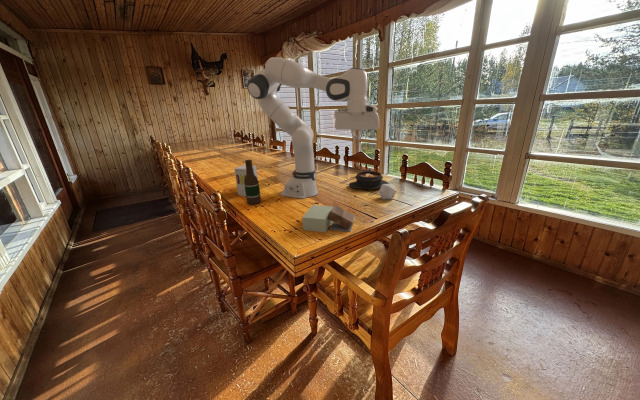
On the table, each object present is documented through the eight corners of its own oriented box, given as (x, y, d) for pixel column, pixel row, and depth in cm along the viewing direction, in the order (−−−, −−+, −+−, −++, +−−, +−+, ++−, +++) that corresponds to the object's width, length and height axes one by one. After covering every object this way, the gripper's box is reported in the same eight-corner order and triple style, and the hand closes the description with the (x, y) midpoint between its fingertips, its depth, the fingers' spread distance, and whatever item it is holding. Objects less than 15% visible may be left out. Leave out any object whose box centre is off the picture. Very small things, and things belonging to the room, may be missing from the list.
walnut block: (331, 211, 107) (353, 222, 106) (334, 204, 114) (355, 215, 113) (327, 218, 109) (348, 229, 108) (331, 212, 115) (351, 222, 114)
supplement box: (237, 195, 155) (233, 168, 149) (247, 190, 163) (243, 164, 157) (250, 197, 152) (246, 169, 146) (259, 192, 160) (256, 165, 154)
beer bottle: (248, 200, 146) (242, 159, 138) (262, 199, 147) (256, 158, 138) (245, 205, 139) (239, 162, 131) (260, 204, 140) (254, 161, 131)
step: (303, 229, 110) (302, 217, 108) (313, 216, 123) (312, 205, 121) (325, 232, 108) (325, 219, 105) (333, 218, 120) (333, 206, 118)
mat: (329, 229, 110) (329, 229, 109) (334, 220, 118) (334, 220, 117) (350, 232, 107) (350, 231, 107) (353, 222, 115) (353, 221, 115)
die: (392, 203, 136) (401, 187, 136) (377, 195, 136) (386, 179, 136) (387, 203, 144) (396, 188, 144) (374, 195, 144) (382, 180, 144)
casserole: (353, 193, 151) (353, 179, 148) (345, 184, 169) (345, 171, 166) (393, 189, 155) (394, 176, 152) (381, 181, 172) (382, 168, 169)
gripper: (332, 109, 115) (333, 140, 120) (379, 107, 109) (378, 140, 114) (335, 108, 121) (336, 138, 126) (380, 107, 115) (379, 138, 120)
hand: (356, 139), depth 120 cm, fingers closed
